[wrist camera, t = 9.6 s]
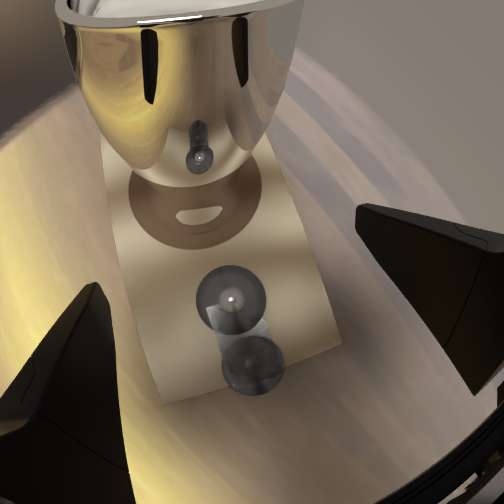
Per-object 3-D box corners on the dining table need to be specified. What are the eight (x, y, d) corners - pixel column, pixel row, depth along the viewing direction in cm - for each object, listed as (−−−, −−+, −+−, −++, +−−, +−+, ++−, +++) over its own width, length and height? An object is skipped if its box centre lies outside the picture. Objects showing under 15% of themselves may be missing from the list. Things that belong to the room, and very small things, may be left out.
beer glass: (235, 252, 18) (313, 57, 4) (129, 228, 18) (-6, 49, 3) (256, 156, 20) (322, -47, 5) (160, 137, 19) (126, -61, 5)
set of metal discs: (290, 377, 17) (298, 383, 16) (229, 399, 16) (231, 407, 15) (182, 52, 22) (182, 38, 20) (139, 62, 21) (136, 48, 19)
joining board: (336, 342, 19) (343, 343, 18) (165, 400, 17) (163, 405, 16) (226, 57, 23) (227, 49, 22) (100, 88, 21) (97, 80, 20)
